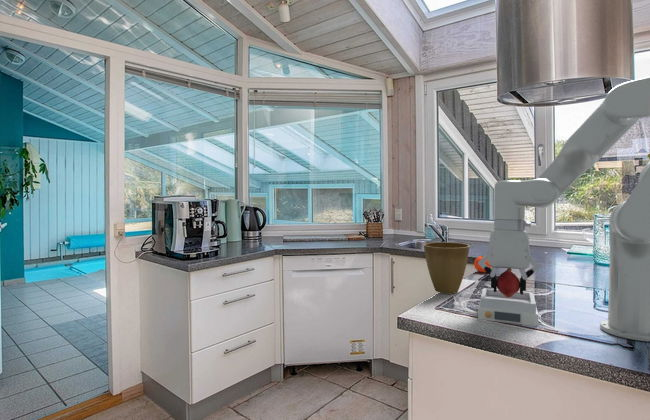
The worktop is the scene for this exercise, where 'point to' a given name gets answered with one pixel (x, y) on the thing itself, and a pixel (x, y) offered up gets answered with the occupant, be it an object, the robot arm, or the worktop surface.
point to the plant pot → (446, 265)
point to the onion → (508, 283)
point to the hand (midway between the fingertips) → (508, 291)
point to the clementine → (479, 265)
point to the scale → (508, 307)
